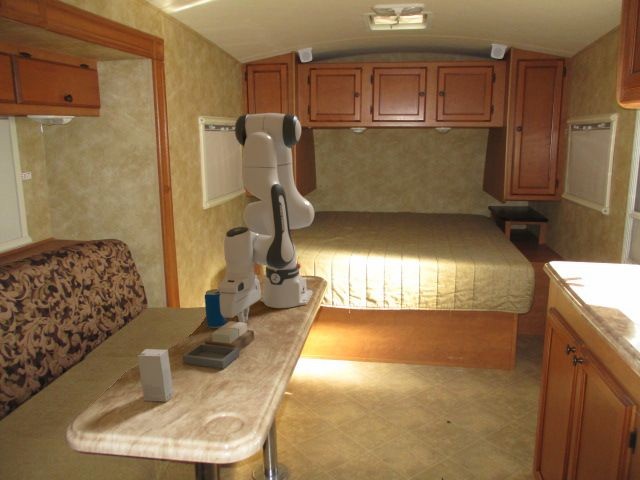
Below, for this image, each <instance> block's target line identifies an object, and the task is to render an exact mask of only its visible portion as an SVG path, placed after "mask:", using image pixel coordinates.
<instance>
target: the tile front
mask: <svg viewBox="0 0 640 480" xmlns="http://www.w3.org/2000/svg"><path fill="white" fill-rule="evenodd" d="M211 337H212V341H213V342H221V343H229V344H230V343H232V342H233V341H234V340H236V339H237V338H238V329H230V328H217V330H215V331H213V332H212V333H211Z"/></svg>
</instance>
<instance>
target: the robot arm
mask: <svg viewBox="0 0 640 480" xmlns="http://www.w3.org/2000/svg"><path fill="white" fill-rule="evenodd" d="M234 133H235V138H236V141H237V142H238V143H239V145H241V146H242V148H243V150H242V151H243V152H242V163H241V165H242V166H241V179H242V184H243V187H244V188H245V190H246V191H247V192H248V193H250V194H251V195H252V196H254V197H255V198H258V199H259V200H258V201H254V202H251V203H248V204H247V205H246V206H245V208H244V210H243V214H242V217H243V218H242V219H243V222H244V224H245V225H246V227H245V226H238V227H233V228H231V229H229V230H228V231H227V232H226V233H225V235H224V242H223V251H224V253H223V254H224V260H225V264H226V265H225V266H226V267H225V276H224V278H223V279H222V280H221V281H220V283H219V284H218V287H217V289H218V291H219V292H221V294H220V311H221V315H222V316H223V317H226V319H227V318H229V319H232V318H235V316H236V317H237V318H238V322H241V323H246V321H248V320H249V312H250V306H252V305H254V304H255V303H257V302H259V300H260V301H261V302H262V303H263V304H264V305H265V306H266V307H268V308H272V309H273V308H274V309H287V308H288V309H289V308H293V307H298V306H306V305H307V304H308V303H309V301H310V299H311V297H312V296H313V294H314V292H313V290H311V289H307V287H308V286H307V280H306V278H304V277H303V276H302V275H300V271H299V270H300V269H301V267H302V266H301V265H302V264H301V263H299V262H297V252H296V251H297V250H296V249H297V247H296V245H295V244H294V242H293V239H292V235H291V230H298V229H303V228H307V227H310V226H311V225H312V223H313V221H314V218H315V209H314V206H313V204H312V203H311V202H310V201H309V200H307V199H306V198H305V197H304V196H303V195H301V193H300V192H299V191H298V189H297V186H296V183H295V179H294V169H293V167H294V166H293V154H292V153H293V152H292V148H293V147H295V146H296V145H297V144H298V143H299V141H300V139H301V136H302V124H301V122H300V119H299V118H298V116H297V115H295V114H293V113H292V114H291V113H280V112H279V113H278V112H266V113H254V114H253V113H252V114H250V113H245V114H242V115H240V116H238V118H237V119H236V121H235V125H234ZM255 264H257V265H261V266H265V277H266V278H265V279H264V280H263V290H261V284H260V280H259V279H258V275H257V274H256V273H255V266H254V265H255ZM262 291H263V293H262ZM262 295H263V296H262Z"/></svg>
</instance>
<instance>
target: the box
mask: <svg viewBox="0 0 640 480" xmlns="http://www.w3.org/2000/svg"><path fill="white" fill-rule="evenodd" d="M181 357H182V364H183V365H187V366H188V365H189V366H195V367H202V368H208V369H215V370H223V371H224V370H225V369H226V368H227V367H229V366H230V365H231V364H232V363H234V361H236V360H237V359H238V358H239V357H240V352H239V348H233V347H225V346H217V345H209V344H205V343H198V344H197V345H196V346H194V347H193V348H191V349H190V350H188V351H187V352H185V353H184V354H183V355H182V356H181Z"/></svg>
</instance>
